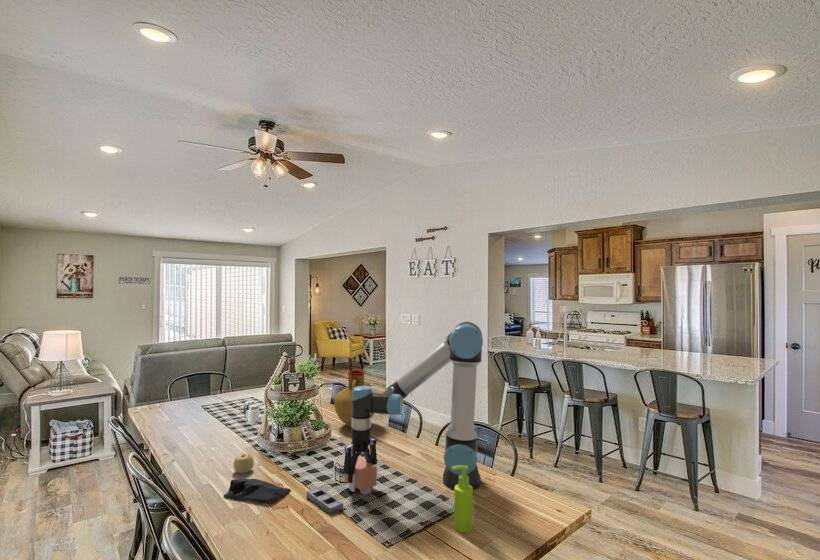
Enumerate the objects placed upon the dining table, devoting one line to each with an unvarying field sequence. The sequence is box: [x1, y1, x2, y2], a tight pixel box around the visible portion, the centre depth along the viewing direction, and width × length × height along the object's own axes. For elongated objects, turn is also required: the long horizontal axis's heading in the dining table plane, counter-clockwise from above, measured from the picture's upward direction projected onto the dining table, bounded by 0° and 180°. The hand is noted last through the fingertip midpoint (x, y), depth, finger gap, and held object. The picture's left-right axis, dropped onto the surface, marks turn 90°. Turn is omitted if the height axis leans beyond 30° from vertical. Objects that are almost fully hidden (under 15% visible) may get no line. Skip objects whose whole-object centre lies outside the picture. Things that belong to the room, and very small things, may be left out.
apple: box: [233, 452, 255, 474], centre depth 181 cm, size 8×8×8 cm
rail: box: [306, 486, 344, 515], centre depth 156 cm, size 16×5×2 cm, turn 43°
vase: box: [333, 369, 375, 429], centre depth 240 cm, size 24×24×30 cm
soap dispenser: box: [452, 465, 474, 534], centre depth 141 cm, size 6×7×20 cm
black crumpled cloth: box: [223, 477, 292, 504], centre depth 162 cm, size 15×22×5 cm
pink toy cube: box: [344, 457, 378, 495], centre depth 166 cm, size 11×7×10 cm, turn 43°
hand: (360, 487), depth 166 cm, fingers closed on pink toy cube, 7 cm apart
